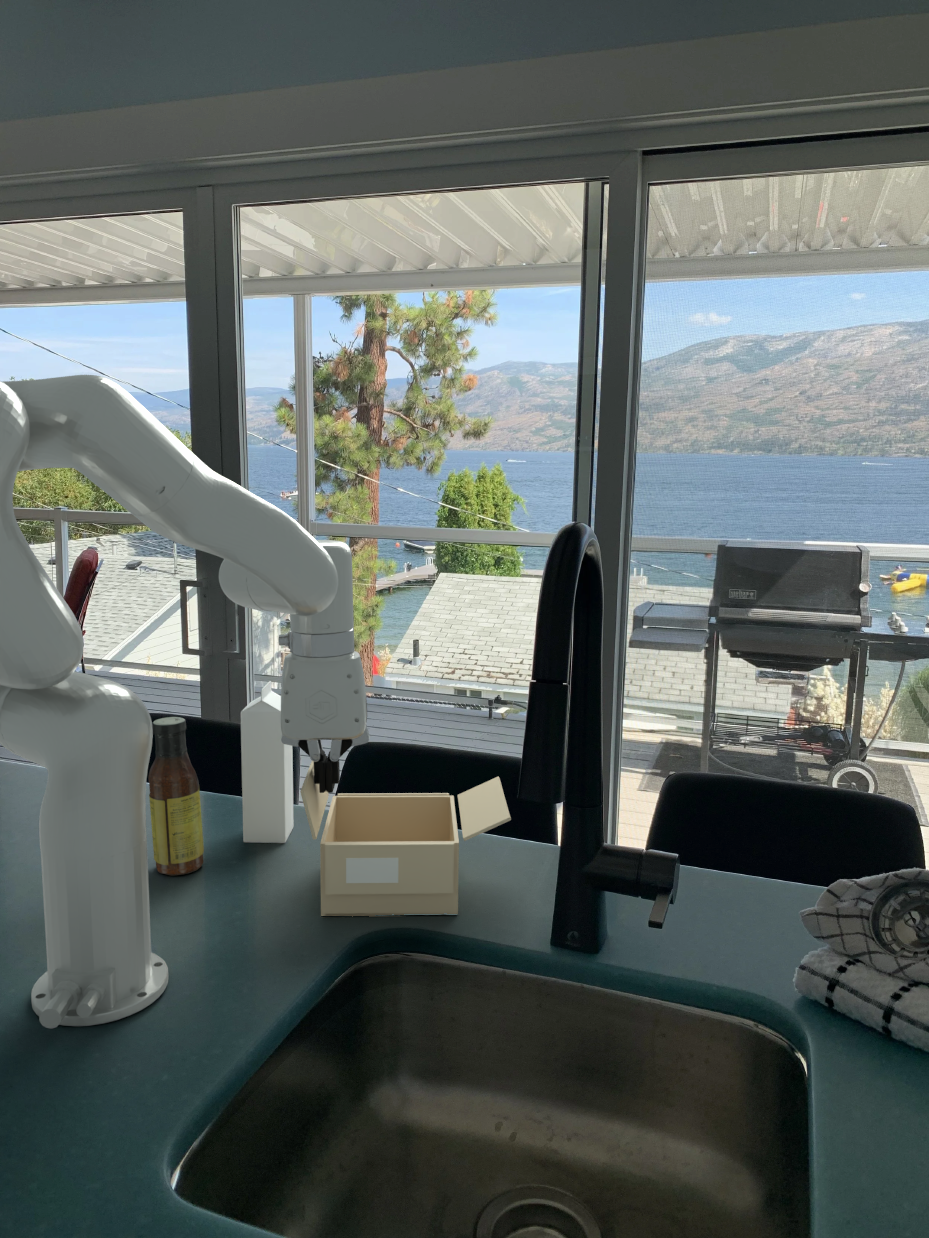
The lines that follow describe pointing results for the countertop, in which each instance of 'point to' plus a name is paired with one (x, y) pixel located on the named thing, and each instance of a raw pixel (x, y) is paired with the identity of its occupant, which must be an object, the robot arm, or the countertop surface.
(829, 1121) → the countertop surface
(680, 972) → the countertop surface
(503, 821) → the right flap
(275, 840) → the milk
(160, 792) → the sauce bottle
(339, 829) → the carton
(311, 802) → the left flap
